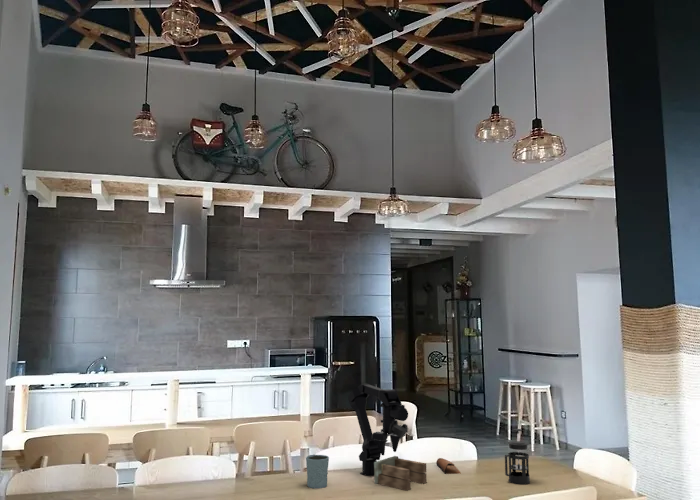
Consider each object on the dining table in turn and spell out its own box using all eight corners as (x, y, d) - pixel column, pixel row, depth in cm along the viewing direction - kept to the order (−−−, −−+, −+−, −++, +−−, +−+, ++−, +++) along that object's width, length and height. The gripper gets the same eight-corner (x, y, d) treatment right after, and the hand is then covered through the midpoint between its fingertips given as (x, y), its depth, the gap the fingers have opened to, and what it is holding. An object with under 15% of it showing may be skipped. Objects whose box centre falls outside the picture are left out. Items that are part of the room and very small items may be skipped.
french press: (524, 478, 257) (522, 426, 260) (535, 484, 248) (533, 430, 251) (501, 479, 255) (499, 427, 258) (511, 485, 245) (509, 431, 249)
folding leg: (380, 473, 246) (380, 464, 247) (383, 472, 248) (383, 463, 249) (406, 479, 237) (405, 470, 237) (409, 478, 239) (409, 469, 239)
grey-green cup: (311, 490, 237) (311, 460, 238) (301, 484, 246) (302, 455, 247) (332, 487, 241) (332, 458, 243) (322, 481, 250) (323, 453, 252)
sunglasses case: (462, 473, 265) (455, 461, 265) (450, 481, 264) (442, 469, 264) (452, 464, 282) (445, 452, 283) (440, 471, 281) (434, 460, 282)
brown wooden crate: (374, 483, 247) (374, 462, 249) (394, 475, 260) (394, 455, 261) (407, 490, 237) (406, 468, 238) (426, 482, 249) (426, 461, 250)
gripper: (391, 422, 242) (391, 460, 240) (414, 417, 257) (415, 452, 255) (371, 419, 249) (371, 456, 247) (394, 414, 264) (394, 449, 262)
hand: (388, 453), depth 253 cm, fingers open, 9 cm apart
